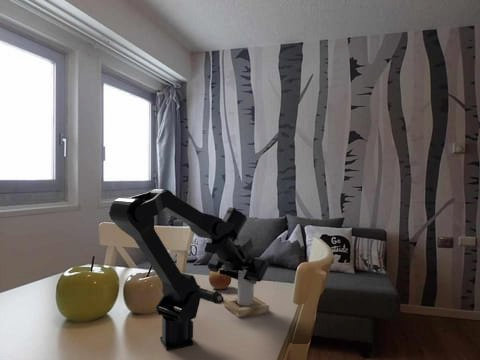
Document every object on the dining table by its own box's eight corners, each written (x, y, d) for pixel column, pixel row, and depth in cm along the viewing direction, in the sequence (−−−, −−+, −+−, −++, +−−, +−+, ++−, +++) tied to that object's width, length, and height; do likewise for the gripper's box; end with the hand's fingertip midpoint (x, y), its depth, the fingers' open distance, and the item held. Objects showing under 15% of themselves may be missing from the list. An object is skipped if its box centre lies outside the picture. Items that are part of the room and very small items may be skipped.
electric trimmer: (191, 292, 125) (191, 282, 125) (224, 301, 115) (224, 291, 115) (183, 294, 122) (183, 285, 122) (216, 304, 112) (216, 294, 112)
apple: (207, 285, 131) (207, 263, 131) (229, 284, 133) (229, 263, 132) (209, 292, 123) (210, 269, 123) (232, 291, 125) (233, 268, 125)
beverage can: (241, 308, 104) (243, 267, 104) (234, 302, 109) (235, 263, 108) (256, 305, 107) (257, 265, 106) (248, 300, 111) (249, 261, 111)
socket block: (238, 318, 101) (238, 310, 101) (223, 306, 110) (224, 299, 110) (269, 312, 106) (269, 305, 105) (252, 301, 114) (252, 295, 114)
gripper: (265, 230, 99) (285, 264, 107) (214, 224, 110) (236, 255, 119) (248, 264, 92) (270, 296, 101) (196, 254, 104) (220, 284, 113)
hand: (248, 281), depth 109 cm, fingers closed on beverage can, 5 cm apart
